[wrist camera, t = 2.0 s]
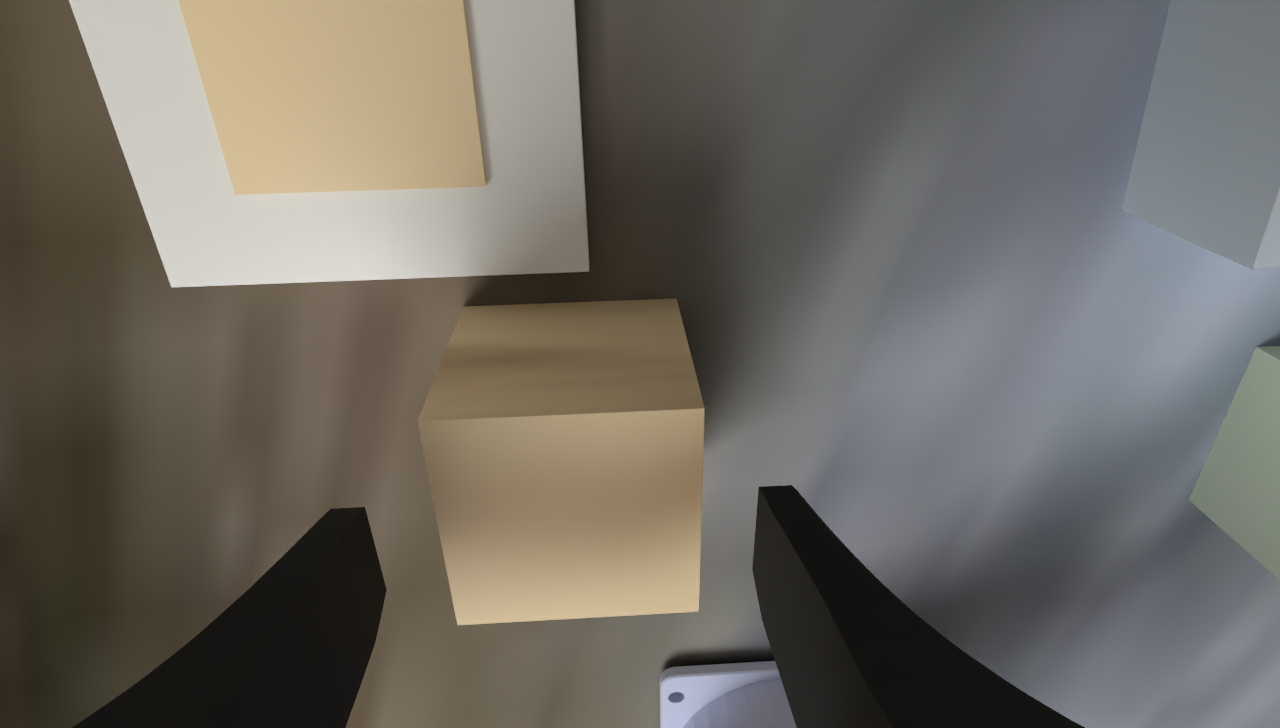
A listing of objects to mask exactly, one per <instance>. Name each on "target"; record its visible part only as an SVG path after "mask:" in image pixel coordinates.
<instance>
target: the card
mask: <svg viewBox="0 0 1280 728" xmlns="http://www.w3.org/2000/svg"><path fill="white" fill-rule="evenodd" d="M69 2H70V4H71V7H72V10H73V13H74V16H75V18H76V21H77V24H78V27H79V30H80V32H81V35H82V38H83V41H84V44H85V46H86V49H87V52H88V55H89V58H90V60H91V63H92V66H93V69H94V72H95V74H96V77H97V80H98V83H99V86H100V88H101V91H102V94H103V97H104V100H105V102H106V105H107V108H108V111H109V114H110V117H111V119H112V122H113V125H114V128H115V131H116V133H117V136H118V139H119V142H120V145H121V147H122V150H123V153H124V156H125V159H126V161H127V164H128V167H129V170H130V173H131V175H132V178H133V181H134V184H135V187H136V189H137V192H138V195H139V198H140V201H141V203H142V206H143V209H144V212H145V215H146V217H147V220H148V223H149V226H150V229H151V231H152V234H153V237H154V240H155V243H156V245H157V248H158V251H159V254H160V257H161V259H162V262H163V265H164V268H165V271H166V273H167V276H168V279H169V282H170V285H171V287H195V286H221V285H248V284H274V283H301V282H328V281H354V280H381V279H407V278H434V277H460V276H487V275H513V274H540V273H566V272H589V247H588V229H587V211H586V193H585V176H584V158H583V140H582V122H581V104H580V86H579V68H578V51H577V33H576V15H575V0H69Z"/></svg>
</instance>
